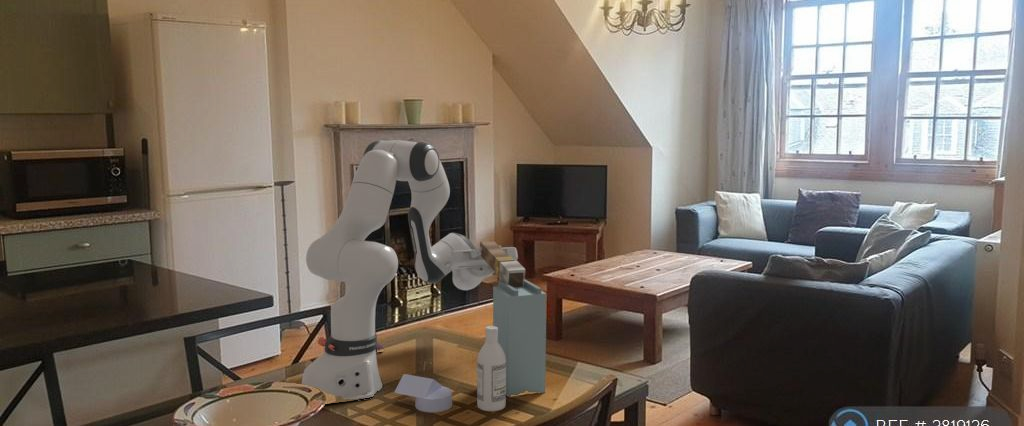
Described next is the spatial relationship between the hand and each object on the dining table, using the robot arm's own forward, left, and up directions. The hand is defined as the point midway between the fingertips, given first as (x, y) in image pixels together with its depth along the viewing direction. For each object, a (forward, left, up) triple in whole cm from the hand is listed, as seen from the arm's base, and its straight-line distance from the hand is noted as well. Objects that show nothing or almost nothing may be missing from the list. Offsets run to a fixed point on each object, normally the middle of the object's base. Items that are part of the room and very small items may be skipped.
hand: (490, 248), depth 222 cm
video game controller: (-25, +28, -33) cm, 50 cm away
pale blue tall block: (-6, -22, -33) cm, 40 cm away
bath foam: (-19, -29, -33) cm, 48 cm away
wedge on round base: (-31, -19, -33) cm, 49 cm away
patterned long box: (-2, -8, -4) cm, 9 cm away
